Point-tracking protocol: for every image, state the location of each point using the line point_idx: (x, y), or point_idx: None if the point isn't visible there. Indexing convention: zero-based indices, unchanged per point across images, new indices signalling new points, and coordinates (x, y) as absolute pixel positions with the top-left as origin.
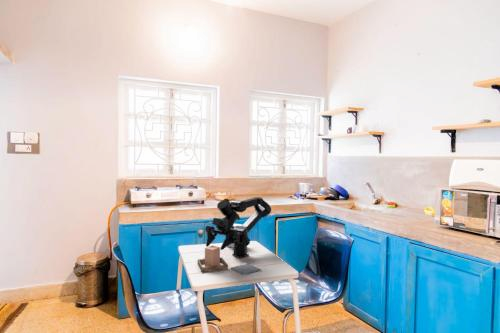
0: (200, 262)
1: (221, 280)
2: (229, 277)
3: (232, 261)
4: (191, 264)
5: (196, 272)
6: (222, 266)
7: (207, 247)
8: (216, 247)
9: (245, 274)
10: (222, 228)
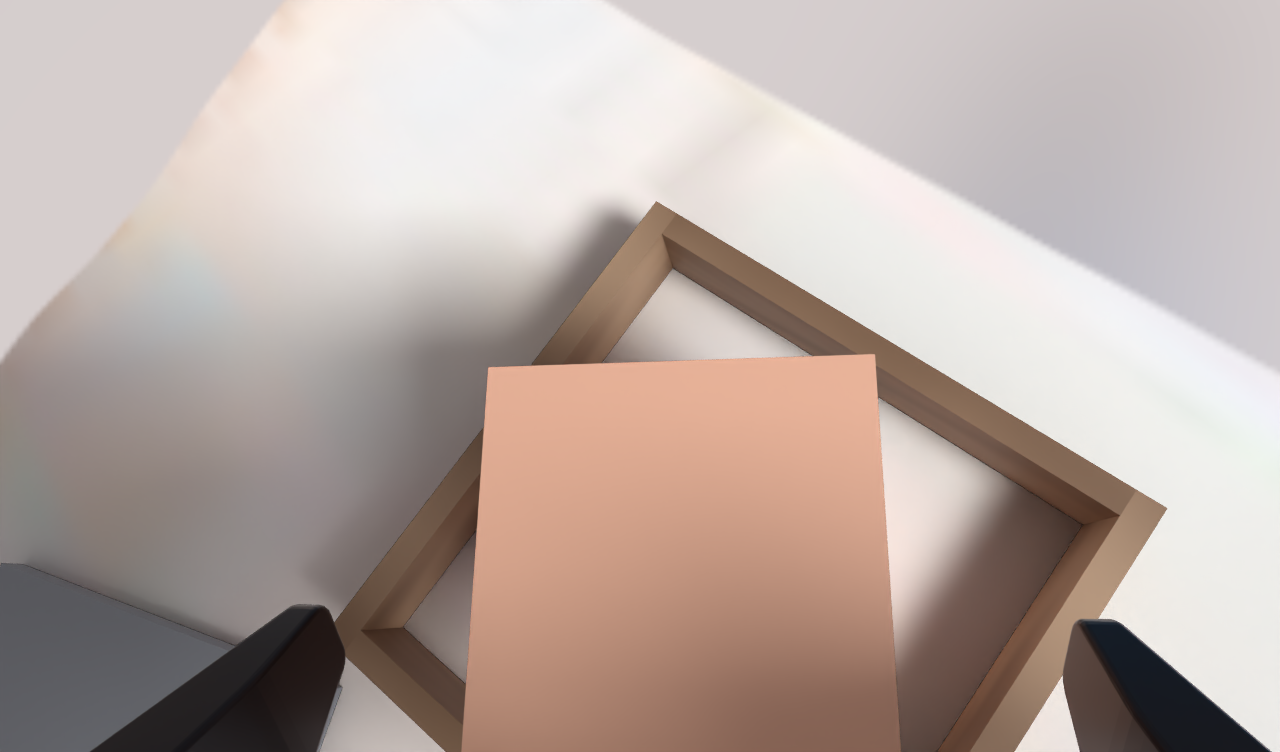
0: (1075, 553)
1: (213, 203)
2: (170, 354)
3: None
4: (1177, 399)
5: (728, 176)
6: (408, 538)
7: (840, 452)
8: (562, 678)
9: (1, 602)
10: None
